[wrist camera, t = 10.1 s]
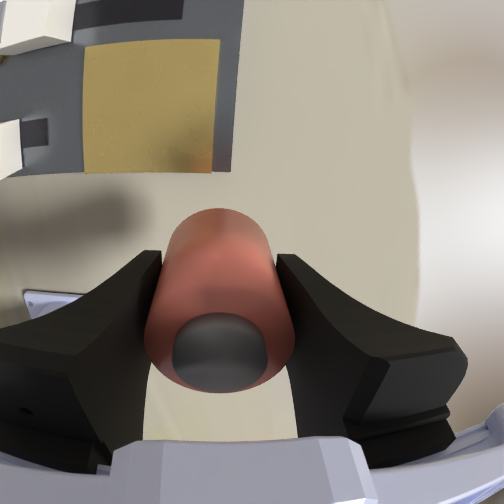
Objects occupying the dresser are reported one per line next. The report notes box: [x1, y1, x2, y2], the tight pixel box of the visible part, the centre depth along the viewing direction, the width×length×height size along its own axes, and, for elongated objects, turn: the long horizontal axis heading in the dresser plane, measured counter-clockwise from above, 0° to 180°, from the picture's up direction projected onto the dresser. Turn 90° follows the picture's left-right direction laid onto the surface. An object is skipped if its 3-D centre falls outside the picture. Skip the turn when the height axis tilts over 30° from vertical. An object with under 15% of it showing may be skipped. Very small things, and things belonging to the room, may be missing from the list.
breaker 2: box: [0, 0, 76, 55], centre depth 10 cm, size 3×4×3 cm
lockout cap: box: [144, 208, 295, 393], centre depth 10 cm, size 4×4×6 cm
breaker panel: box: [0, 0, 244, 177], centre depth 13 cm, size 12×16×2 cm
